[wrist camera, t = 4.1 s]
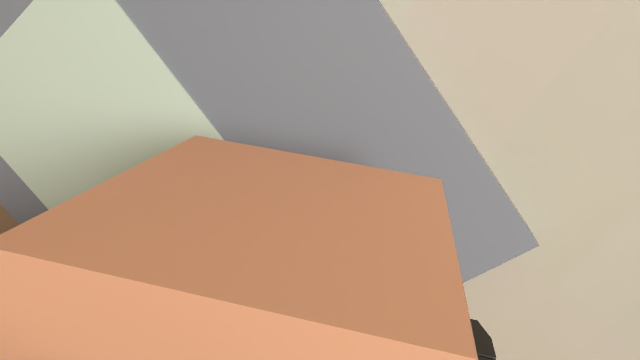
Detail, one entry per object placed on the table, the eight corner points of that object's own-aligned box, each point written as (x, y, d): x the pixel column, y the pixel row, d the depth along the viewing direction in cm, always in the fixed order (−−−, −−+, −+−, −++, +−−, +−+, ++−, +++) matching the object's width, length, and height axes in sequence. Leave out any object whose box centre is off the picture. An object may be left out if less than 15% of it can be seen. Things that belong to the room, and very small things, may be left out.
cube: (441, 179, 10) (479, 359, 5) (393, 383, 12) (380, 676, 7) (195, 135, 11) (-21, 244, 6) (189, 333, 13) (26, 559, 8)
